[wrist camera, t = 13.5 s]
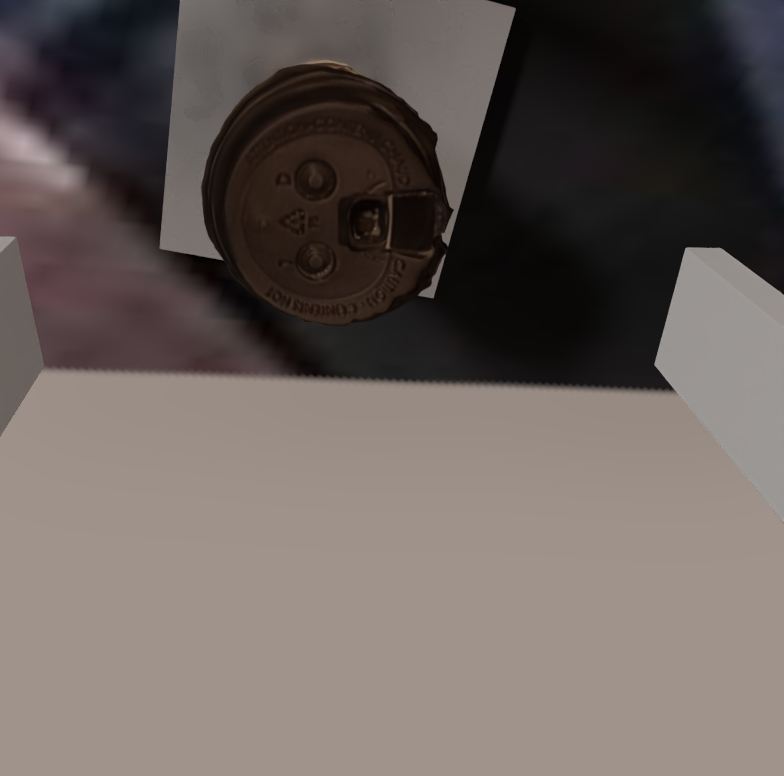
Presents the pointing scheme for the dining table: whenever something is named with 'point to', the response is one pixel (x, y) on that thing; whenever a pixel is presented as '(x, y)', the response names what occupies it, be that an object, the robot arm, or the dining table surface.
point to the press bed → (339, 44)
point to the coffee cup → (326, 195)
